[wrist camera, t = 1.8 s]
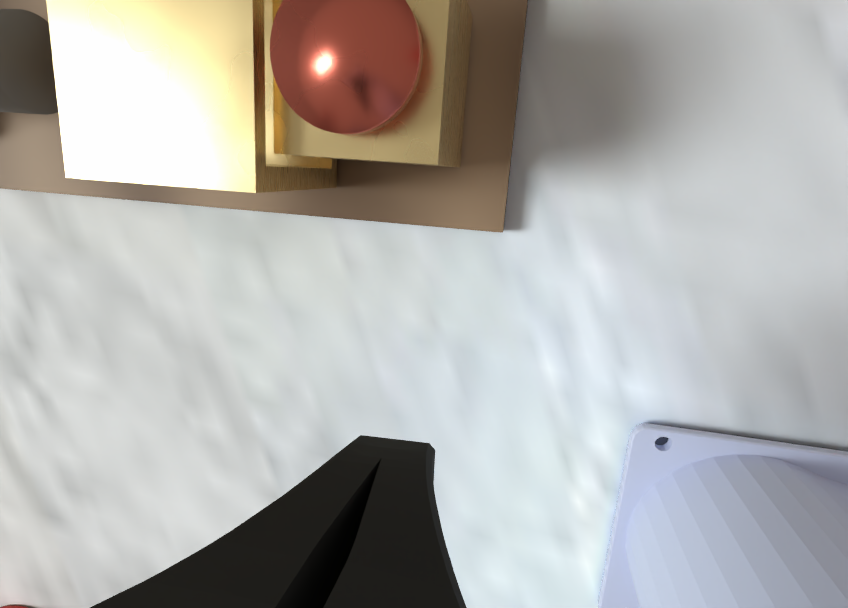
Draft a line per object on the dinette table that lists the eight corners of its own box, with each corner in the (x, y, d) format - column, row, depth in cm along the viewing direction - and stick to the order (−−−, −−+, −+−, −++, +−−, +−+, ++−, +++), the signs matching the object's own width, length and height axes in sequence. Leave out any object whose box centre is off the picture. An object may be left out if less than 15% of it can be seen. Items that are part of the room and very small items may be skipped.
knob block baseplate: (532, -47, 15) (538, -162, 10) (503, 230, 17) (495, 254, 12) (-134, -46, 19) (-378, -129, 14) (-91, 178, 21) (-290, 179, 16)
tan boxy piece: (475, -18, 14) (449, -123, 9) (458, 197, 16) (427, 207, 11) (188, -21, 16) (31, -113, 11) (197, 177, 17) (63, 177, 12)
